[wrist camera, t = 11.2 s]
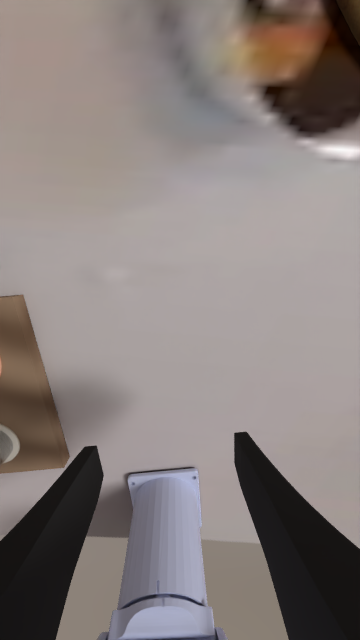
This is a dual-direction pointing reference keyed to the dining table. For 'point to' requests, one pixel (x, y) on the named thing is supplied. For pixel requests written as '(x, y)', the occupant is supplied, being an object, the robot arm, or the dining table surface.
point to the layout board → (25, 397)
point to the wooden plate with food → (351, 15)
